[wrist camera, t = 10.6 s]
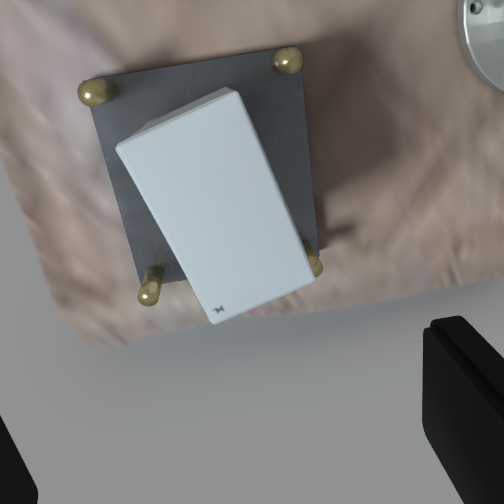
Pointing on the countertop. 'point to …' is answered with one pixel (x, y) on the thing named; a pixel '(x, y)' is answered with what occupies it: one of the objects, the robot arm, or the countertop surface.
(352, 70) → the countertop surface
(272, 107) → the chassis
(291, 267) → the skincare box
